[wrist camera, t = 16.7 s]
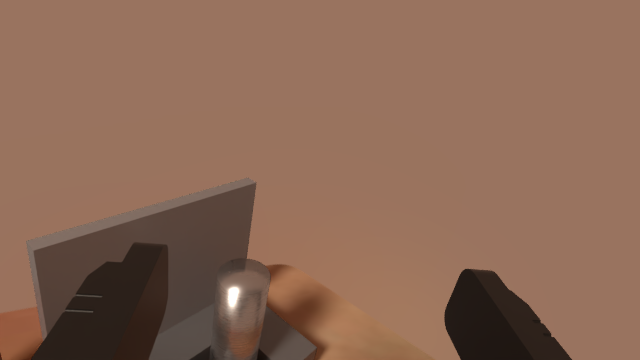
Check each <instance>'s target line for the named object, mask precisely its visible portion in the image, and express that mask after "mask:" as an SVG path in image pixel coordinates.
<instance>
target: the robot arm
mask: <svg viewBox="0 0 640 360" xmlns="http://www.w3.org/2000/svg"><path fill="white" fill-rule="evenodd" d="M167 300H168V246H167V245H166V244H155V243H142V242H134V243H133V244H132V246H131V247H130V249H129V251H128V253H127V254H126V256H125V258H124V260H123V261H122V262H109V261H107V262H106V263H104V264H103V265H101V266H100V267H99V268H97V269H96V270H95V271H93V272H92V273H90V274H89V275H88V276H87V277H86V279H85V280H84V282H83V283H82V285H81V286H80V288H79V289H78V291H77V292H76V295H75V297H73V298H72V299H71V301H70V302H69V304H68V305H67V307H66V308H65V312H63V313H62V314H61V316H60V317H59V319H58V320H57V322H56V323H55V325H54V326H53V328H52V329H51V331H50V332H49V334H48V335H47V337H46V338H45V339H44V341H43V342H42V344H41V345H40V347H39V348H38V350H37V351H36V353H35V354H34V356H33V357H32V359H31V360H149V357H150V354H151V352H152V349H153V346H154V343H155V340H156V337H157V335H158V332H159V329H160V326H161V323H162V320H163V318H164V314H165V311H166V306H167ZM445 326H446V330H447V332H448V334H449V336H450V338H451V340H452V342H453V344H454V346H455V348H456V350H457V353H458V355H459V356H460V359H461V360H572V359H571V358H570V357H569V355H568V354H567V353H566V352H565V350H564V349H563V348H562V347H561V345H560V344H559V343H558V342H557V340H556V339H555V338H554V337H551V333H550V331H549V330H548V329H547V328H546V326H545V325H544V324H541V322H540V319H539V318H538V316H537V315H536V314H535V313H534V312H533V310H532V309H531V308H530V307H529V305H528V304H527V303H525V302H524V301H523V300H522V299H520V298H519V297H518V296H517V295H515V294H514V293H513V292H512V291H510V290H509V289H508V288H507V287H506V286H505V284H504V283H503V282H502V280H501V279H500V278H499V277H498V275H497V274H496V273H495V272H493V271H488V270H475V269H465V270H463V271H462V272H461V274H460V276H459V278H458V281H457V283H456V286H455V288H454V290H453V293H452V295H451V297H450V300H449V302H448V304H447V307H446V310H445Z"/></svg>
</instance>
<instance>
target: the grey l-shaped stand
mask: <svg viewBox="0 0 640 360" xmlns="http://www.w3.org/2000/svg"><path fill="white" fill-rule="evenodd" d="M255 189H256V182H254V181H253V180H251V179H249V178H245V179H242V180H239V181H235V182H231V183H228V184H224V185H221V186H217V187H214V188H211V189H207V190H203V191H200V192H196V193H193V194H189V195H186V196H182V197H179V198H176V199H172V200H168V201H165V202H162V203H158V204H154V205H151V206H147V207H144V208H140V209H137V210H133V211H130V212H126V213H123V214H119V215H116V216H113V217H109V218H105V219H102V220H98V221H95V222H91V223H88V224H85V225H81V226H77V227H74V228H70V229H67V230H63V231H60V232H56V233H53V234H49V235H46V236H42V237H39V238H35V239H32V240H28V241H26V244H27V249H28V255H29V261H30V267H31V273H32V278H33V285H34V291H35V296H36V302H37V308H38V314H39V320H40V326H41V331H42V337H43V341H44V339H45V338H46V337H47V335H48V334H49V332H50V331H51V329H52V328H53V326H54V325H55V323H56V322H57V320H58V319H59V317H60V316H61V314H62V313H63V312H65V308H66V307H67V305H68V304H69V302H70V301H71V299H72V298H73V297H75V295H76V292H77V291H78V289H79V288H80V286H81V285H82V283H83V282H84V280H85V279H86V277H87V276H88V275H89V274H90V273H92V272H93V271H95V270H96V269H97V268H99V267H100V266H101V265H103V264H104V263H106V262H107V261H109V262H122V261H123V260H124V258H125V256H126V254H127V253H128V251H129V249H130V247H131V246H132V244H133V243H134V242H142V243H155V244H166V245H167V246H168V300H167V306H166V311H165V314H164V318H163V320H162V323H161V326H160V329H159V332H158V335H157V337H156V340H155V343H154V346H153V349H152V352H151V354H150V357H149V360H209V359H210V348H211V337H212V326H213V316H214V305H215V294H216V283H217V273H218V270H219V268H220V267H221V266H222V265H223V264H224V263H226V262H228V261H230V260H234V259H241V258H244V259H247V252H248V244H249V236H250V228H251V221H252V212H253V205H254V197H255ZM316 350H317V347H316V346H315V345H313V344H312V343H311V342H310V341H309V340H307V339H306V338H305V337H304V336H302V335H301V334H300V333H299V332H298V331H296V330H295V329H294V328H293V327H291V326H290V325H289V324H288V323H287V322H285V321H284V320H283V319H282V318H280V317H279V316H278V315H277V314H276V313H274V312H273V311H272V310H271V309H269V308H268V307H267V306H266V308H265V314H264V320H263V326H262V332H261V338H260V344H259V350H258V356H257V360H314V358H315V354H316Z"/></svg>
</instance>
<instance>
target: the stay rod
mask: <svg viewBox="0 0 640 360" xmlns="http://www.w3.org/2000/svg"><path fill="white" fill-rule="evenodd" d="M270 278H271V275H270V272H269V270H268V268H267V267H266V266H265V265H263V264H262V263H260V262H258V261H255V260H252V259H244V258H241V259H234V260H230V261H228V262H226V263H224V264H223V265H222V266H221V267H220V268H219V270H218V273H217V283H216V294H215V305H214V316H213V326H212V337H211V348H210V359H209V360H257V356H258V350H259V344H260V338H261V332H262V326H263V320H264V314H265V308H266V302H267V296H268V291H269V285H270Z"/></svg>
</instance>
